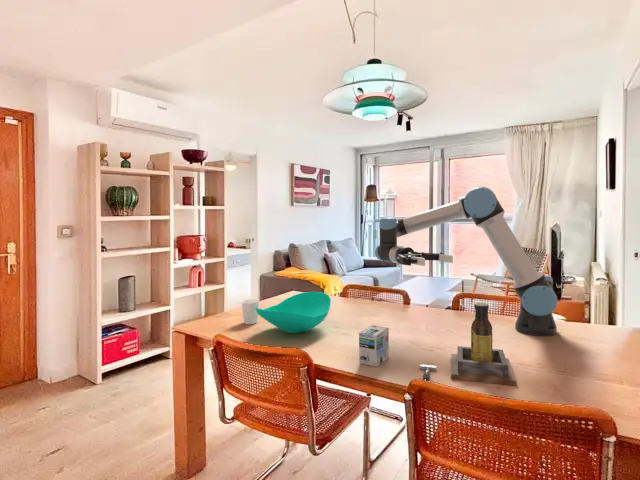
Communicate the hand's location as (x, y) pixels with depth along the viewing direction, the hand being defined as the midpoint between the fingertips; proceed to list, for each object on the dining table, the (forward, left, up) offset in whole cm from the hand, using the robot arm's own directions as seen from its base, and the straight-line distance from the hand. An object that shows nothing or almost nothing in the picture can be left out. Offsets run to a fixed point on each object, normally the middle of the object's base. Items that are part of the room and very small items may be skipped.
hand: (438, 260), depth 151 cm
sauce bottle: (-14, +21, -31) cm, 40 cm away
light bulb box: (+20, +22, -32) cm, 44 cm away
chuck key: (+2, +29, -32) cm, 43 cm away
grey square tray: (-14, +22, -32) cm, 41 cm away
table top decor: (+59, -3, -32) cm, 68 cm away
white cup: (+84, -10, -32) cm, 91 cm away
